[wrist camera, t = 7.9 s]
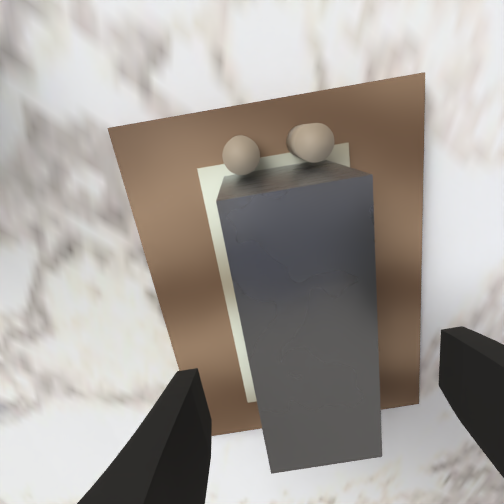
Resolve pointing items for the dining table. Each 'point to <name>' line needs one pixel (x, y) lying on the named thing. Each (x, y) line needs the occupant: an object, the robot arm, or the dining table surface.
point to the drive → (307, 308)
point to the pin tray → (259, 158)
